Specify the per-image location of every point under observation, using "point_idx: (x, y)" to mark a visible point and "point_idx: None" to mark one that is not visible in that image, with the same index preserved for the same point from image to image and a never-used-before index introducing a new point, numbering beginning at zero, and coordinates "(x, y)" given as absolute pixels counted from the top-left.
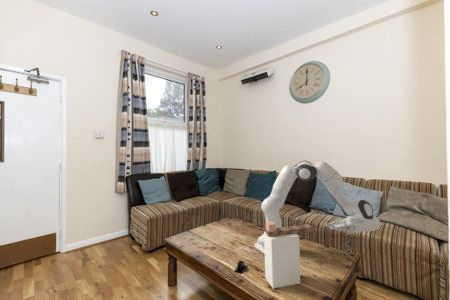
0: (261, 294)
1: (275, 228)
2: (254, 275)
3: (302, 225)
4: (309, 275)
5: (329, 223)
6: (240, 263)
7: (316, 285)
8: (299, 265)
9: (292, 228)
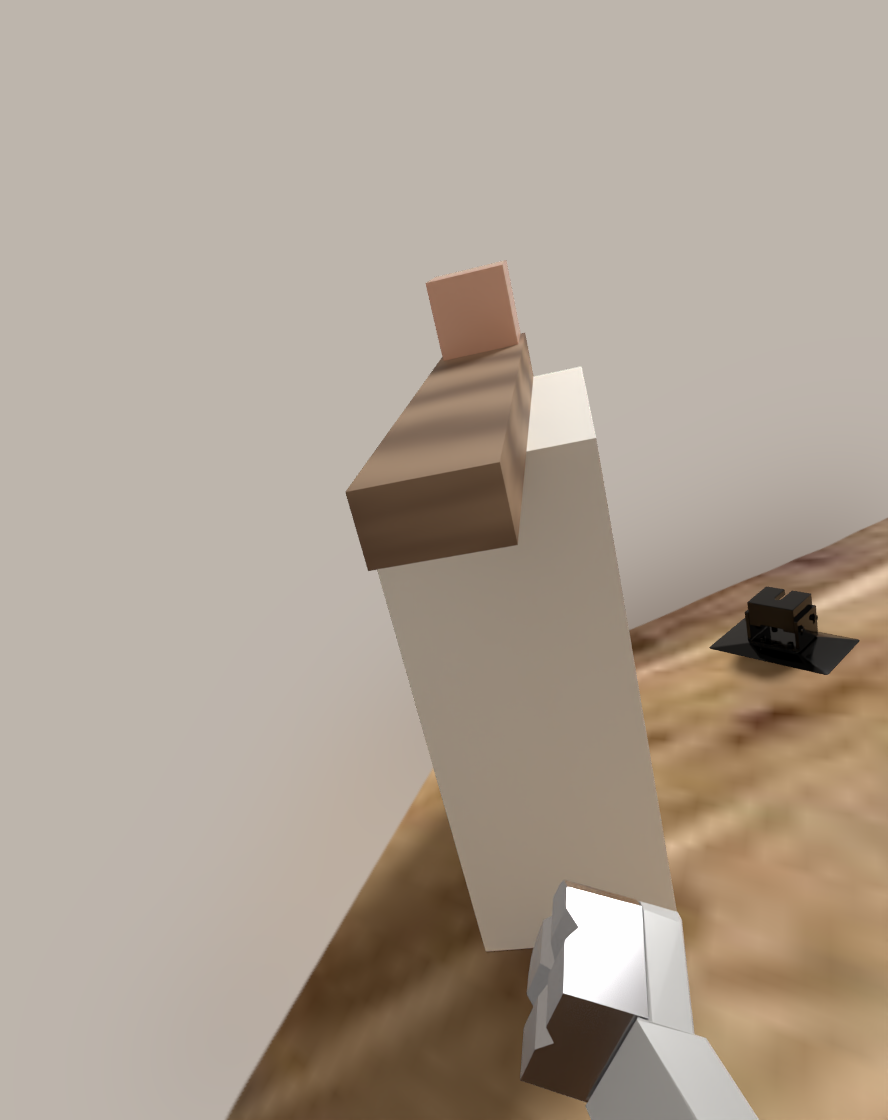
0: None
1: (437, 329)
2: (681, 698)
3: (477, 433)
4: (584, 1116)
5: (560, 989)
6: (761, 597)
7: (395, 1088)
8: (443, 797)
9: (438, 398)
